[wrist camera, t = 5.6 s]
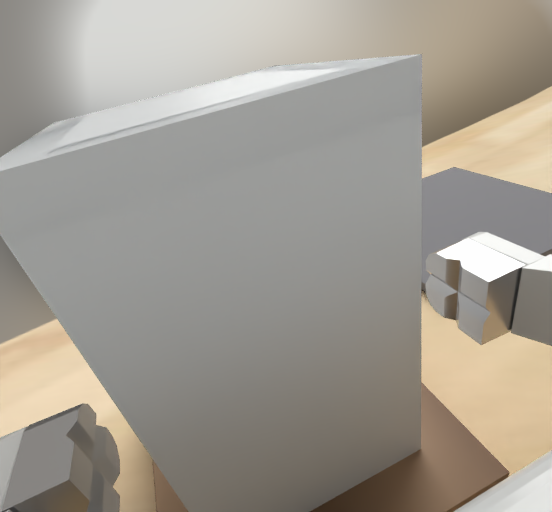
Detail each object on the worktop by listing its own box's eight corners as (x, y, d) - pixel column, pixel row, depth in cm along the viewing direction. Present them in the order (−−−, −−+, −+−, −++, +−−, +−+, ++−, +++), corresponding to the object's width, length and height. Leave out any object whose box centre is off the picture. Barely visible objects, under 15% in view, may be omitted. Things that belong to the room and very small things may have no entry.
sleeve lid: (322, 326, 15) (274, 65, 10) (421, 448, 10) (421, 54, 5) (186, 386, 14) (53, 122, 9) (221, 561, 9) (-37, 181, 4)
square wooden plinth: (339, 319, 18) (324, 219, 15) (502, 500, 10) (533, 366, 7) (159, 399, 16) (103, 301, 13) (192, 698, 8) (74, 618, 5)
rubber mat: (453, 173, 29) (454, 167, 29) (624, 222, 19) (627, 213, 19) (324, 220, 27) (324, 214, 27) (445, 306, 17) (445, 297, 17)
